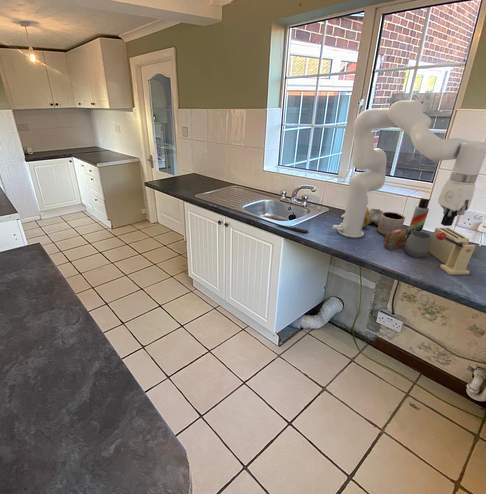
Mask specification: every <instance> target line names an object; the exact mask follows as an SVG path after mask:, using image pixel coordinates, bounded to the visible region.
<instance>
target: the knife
mask: <svg viewBox="0 0 486 494" xmlns="http://www.w3.org/2000/svg"><path fill="white" fill-rule="evenodd" d="M276 227H281V228H285V229H289V230H291V231H294V232H297V233H303V234H307V233H308V229H302V228H299V227H291V226H286V225H276Z"/></svg>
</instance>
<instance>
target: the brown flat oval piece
mask: <svg viewBox="0 0 486 494" xmlns="http://www.w3.org/2000/svg"><path fill="white" fill-rule="evenodd" d="M384 236H385V237H384V239H383V247H384V248H386V249H388V250H390V251H391V250H394V249H397V248H400V247H402V246H405V243H406V241H407V240H408V238H409V236H408V229H404V228H402V229H398V230H395V231H391V232H389V233H388V234H387V235H384Z"/></svg>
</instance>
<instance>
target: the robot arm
mask: <svg viewBox="0 0 486 494" xmlns="http://www.w3.org/2000/svg"><path fill="white" fill-rule="evenodd" d="M424 111H425V110H424V105H423V104H422V103H421V101H418V100H414V99H411V100H409V99H408V100H399V101H396V102H394V103H392V104H391V105H390V106H389V107H376V108H368V109H365V110H363V111H361V112H360V113H359V114H358V115H357V116H356V118H355V120H354V123H353V156H352V164H353V167H354V168H355V169H356V170H358V171H363V170H367V171H364V172H359V173H356V174H353V175H352V176H351V177H350V178H349V181H348V192H347V201H346V204H345V205H346V206H345V210H344V213H345V214H344V213H343V214H344V217H343V220H342V222H340V223H339V224H338V225H336V224H333V225H332V229H333V230H336V231H337V232H338V233H339V234H340V235H342V236H344V237H347V238H353V239H354V238H355V239H358V238H363V237H364V236H365V231H364V230H363V227H362V226H363V222H364V218H365V214H366V209H367V207H368V205H369V196H368V192H369V193H370V192H374V191H378V190H380V189H382V188H383V186H384V185H385V183H386V175H387V161H388V159H387V158H388V157H387V154H386V152H385V151H384V150H383V149H382V148H379V147H375V136H374V134H373V132H372V130H374V129H375V130H376V129H377V130H378V129H390V128H394V127H398V128H399V129H400V130H401V131H403V132H404V133H405V134H407V135H408V136H409V137H410V141H411V143H412V145H413V147H414V148H415V149H416V150H417V151H418V152H419V153H420V154H421V155H423V156H424V157H425V158H427V159H428V160H431V161H433V162H442V161H452V160H454V161H455V162H454V164H453V166H452V170H451V173H450V176H449V178H448V179H447V180H446V181H445V183H444V185H443V187H442V189H441V191H440V194H439V196H438V200H437V203H438V204H439V205H440V207H441V208H442V209H443V212H442V214H443V216H442V219H441V222H440V225H442V226H443V227H451V226H453V223H454V221H455V218H456V217H458V216H464V215H465V212H466V211H468V210H469V208H470V206H471V204H472V201H473V198H474V193H475V190H476V182H477V179H478V176H479V174H480V171H481V169H482V167H483V163H484V161H485V158H486V142H485V141H478V140H477V141H476V140H467V139H465V138H460V137H453V138H451V137H450V138H441V137H439V136H438V135H436V133H433V132H432V131H431V129H430V126H431V124H432V119H431V117H429V116H428V115H427V114H426V113H424Z"/></svg>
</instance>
